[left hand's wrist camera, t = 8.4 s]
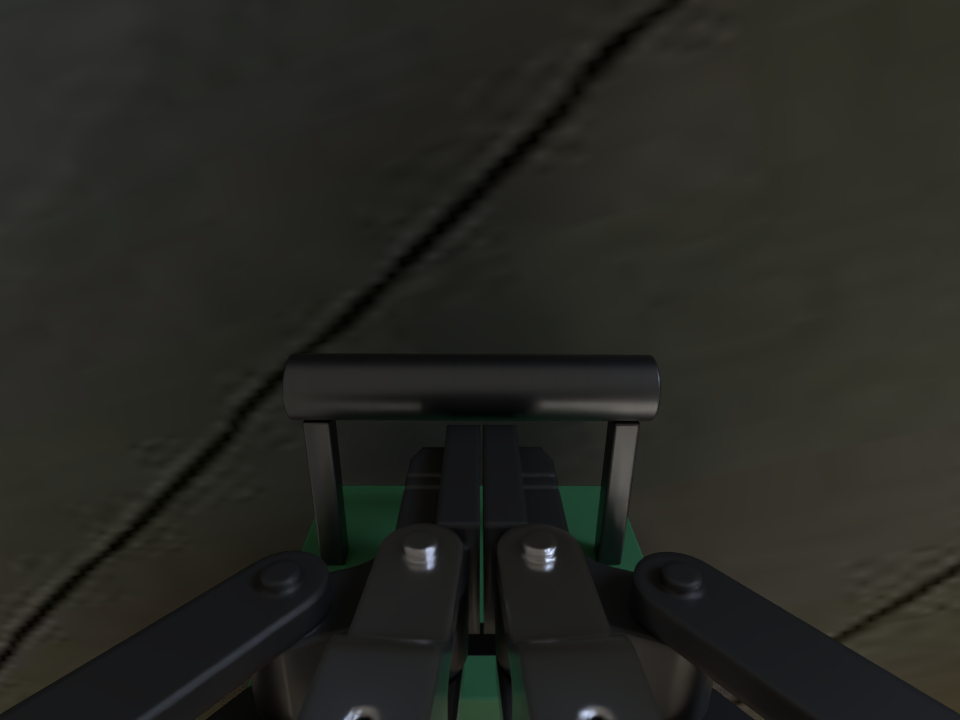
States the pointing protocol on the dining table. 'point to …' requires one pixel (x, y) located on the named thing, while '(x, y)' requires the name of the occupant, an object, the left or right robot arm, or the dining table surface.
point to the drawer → (469, 396)
